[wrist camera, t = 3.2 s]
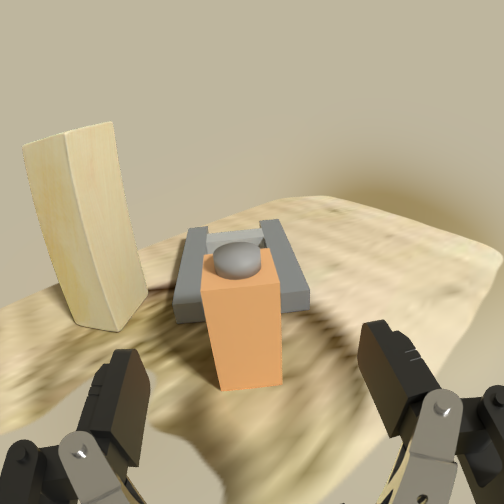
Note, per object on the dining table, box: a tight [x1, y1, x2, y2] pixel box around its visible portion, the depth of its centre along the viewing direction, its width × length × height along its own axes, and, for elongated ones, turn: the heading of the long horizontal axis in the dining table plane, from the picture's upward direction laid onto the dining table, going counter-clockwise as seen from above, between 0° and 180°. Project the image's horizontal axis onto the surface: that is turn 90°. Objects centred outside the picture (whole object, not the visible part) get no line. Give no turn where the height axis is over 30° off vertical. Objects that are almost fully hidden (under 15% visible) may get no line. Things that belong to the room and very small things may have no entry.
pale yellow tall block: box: [22, 121, 148, 332], centre depth 31 cm, size 8×7×21 cm
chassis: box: [172, 219, 310, 324], centre depth 41 cm, size 20×14×2 cm
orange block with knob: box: [200, 242, 282, 391], centre depth 24 cm, size 5×5×11 cm
